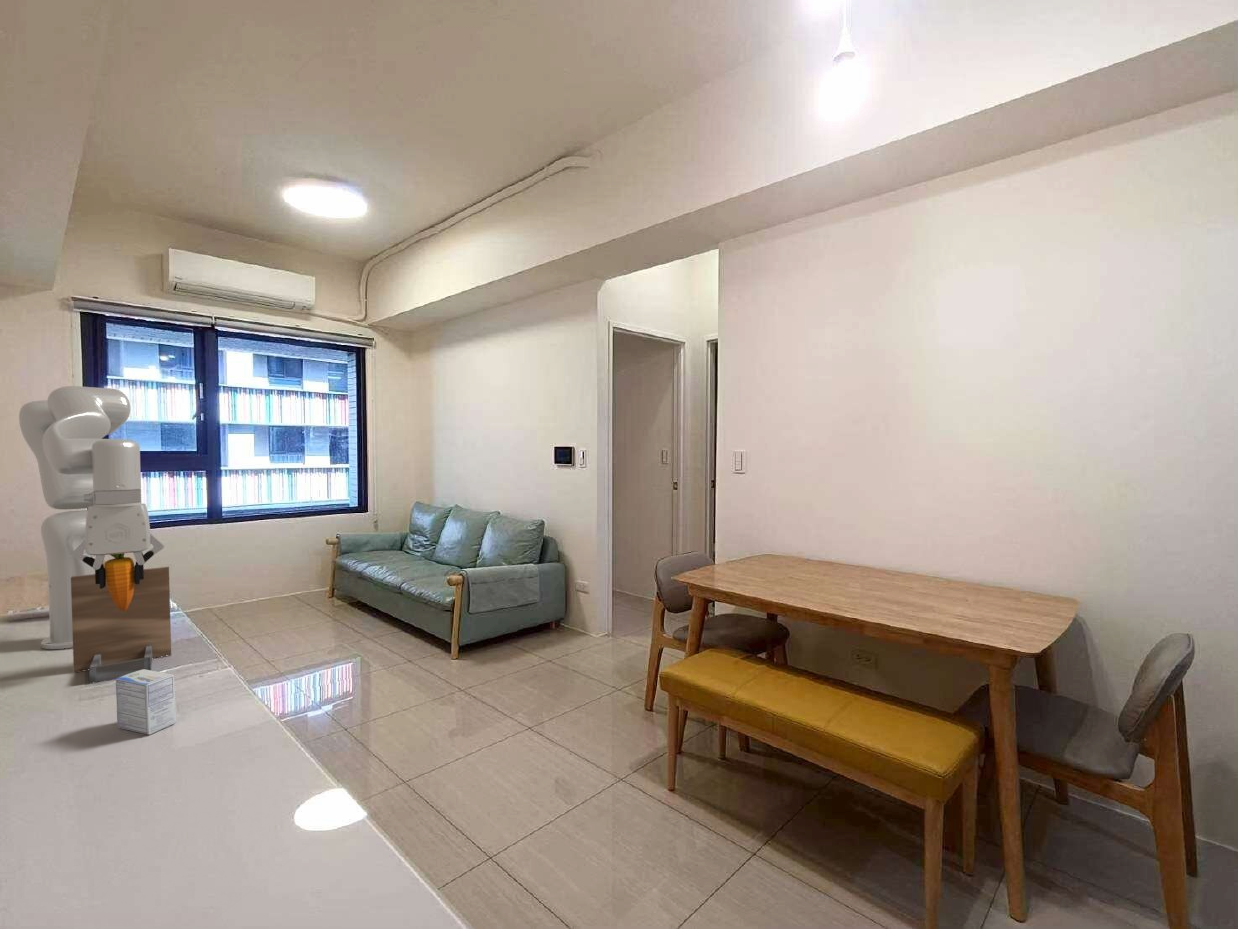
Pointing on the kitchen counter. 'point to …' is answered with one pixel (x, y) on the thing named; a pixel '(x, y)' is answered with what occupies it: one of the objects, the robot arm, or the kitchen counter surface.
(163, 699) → the medicine box
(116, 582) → the carrot
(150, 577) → the wall holder
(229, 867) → the kitchen counter surface
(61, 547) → the robot arm
